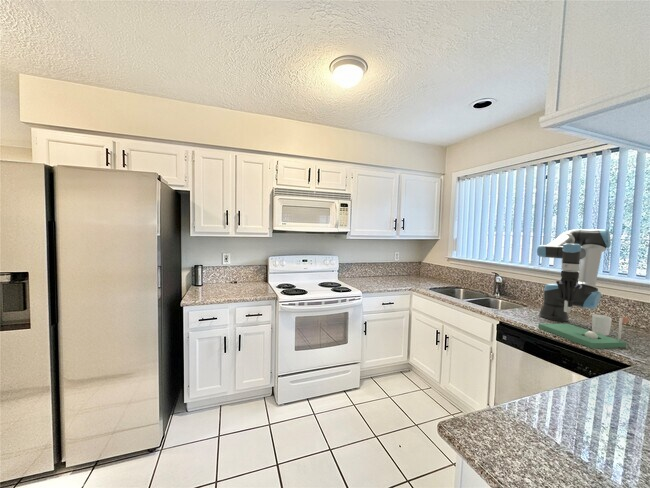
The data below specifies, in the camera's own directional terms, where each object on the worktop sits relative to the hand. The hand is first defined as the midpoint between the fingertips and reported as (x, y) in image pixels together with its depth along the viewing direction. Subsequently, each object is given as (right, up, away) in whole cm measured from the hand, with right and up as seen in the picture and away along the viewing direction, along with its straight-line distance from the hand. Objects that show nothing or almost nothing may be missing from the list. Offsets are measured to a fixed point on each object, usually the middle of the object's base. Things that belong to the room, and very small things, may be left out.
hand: (567, 311), depth 153 cm
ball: (+2, -10, -12) cm, 16 cm away
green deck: (+1, -12, -7) cm, 14 cm away
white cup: (+19, -13, 0) cm, 23 cm away
